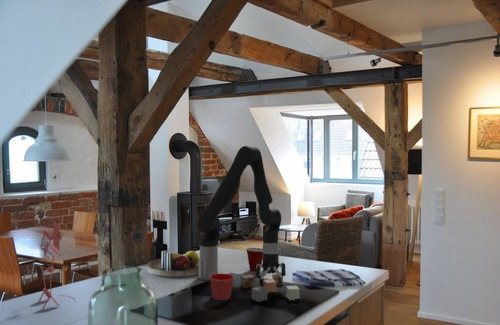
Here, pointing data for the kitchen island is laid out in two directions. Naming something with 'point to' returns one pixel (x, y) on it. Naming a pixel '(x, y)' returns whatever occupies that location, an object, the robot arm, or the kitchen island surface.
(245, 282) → the walnut cube
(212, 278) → the flower pot
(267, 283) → the terracotta cube
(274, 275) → the oak cube
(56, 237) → the figurine
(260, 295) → the slate cube
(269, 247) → the robot arm
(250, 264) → the plastic cup
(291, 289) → the sage cube
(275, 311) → the kitchen island surface
